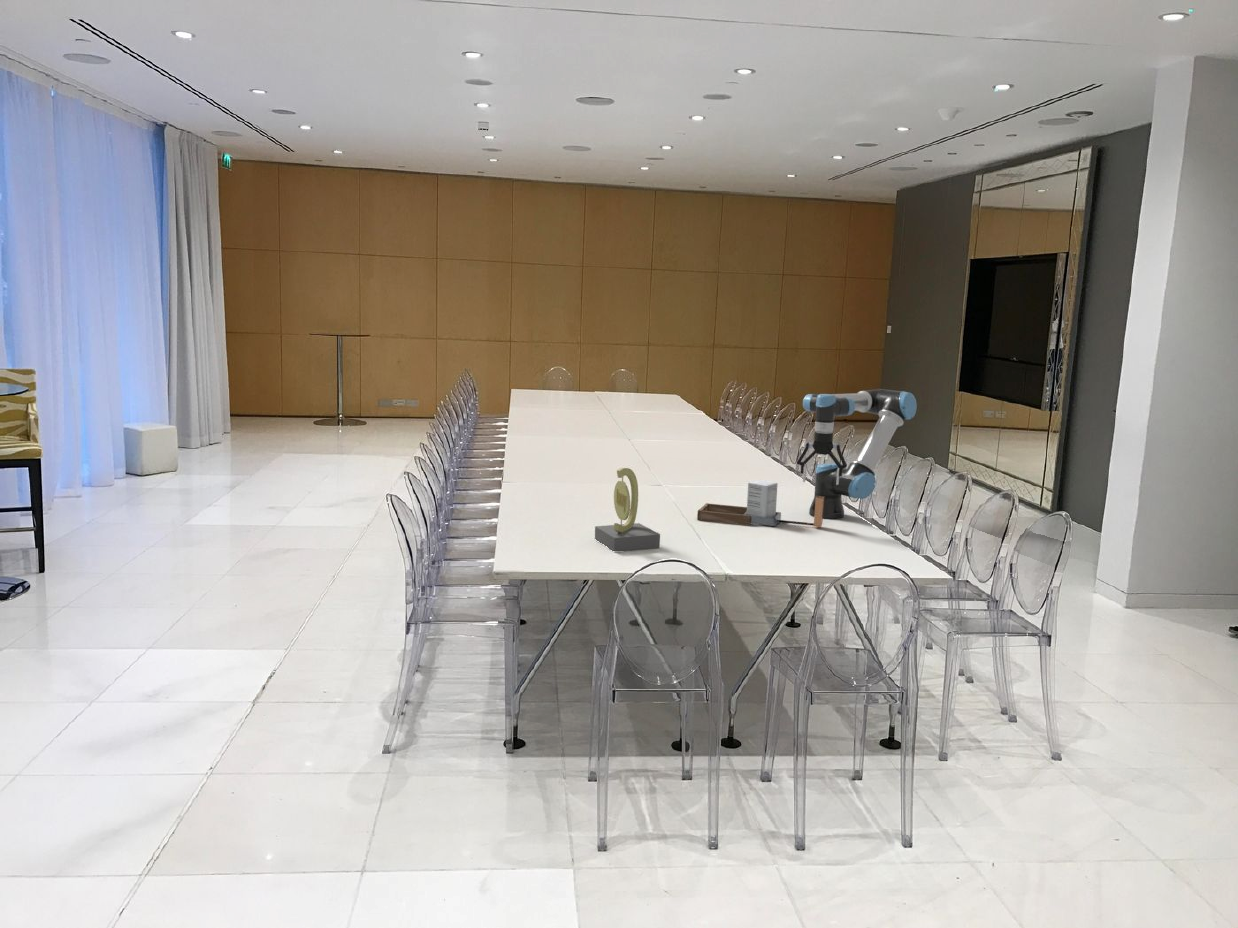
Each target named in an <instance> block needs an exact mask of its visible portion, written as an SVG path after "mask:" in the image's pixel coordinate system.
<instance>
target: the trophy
mask: <svg viewBox="0 0 1238 928" xmlns="http://www.w3.org/2000/svg"><path fill="white" fill-rule="evenodd" d="M616 474H617V475H616V476H617V479H621V480H618V481H617V482H616V484H615V486H614V490H613V505H614V509H615V513H616V516H617V517H618V519H619V520H620V524H619V523H617V522H615V523H613V524H609V525H608V524H607V525H597V526H594V540H595V539H596V540H597V541H599V542H600V543H602V544H604V545H605V546H607V547H608V548H609V549H608V548H607V549H608V550H609V551H611V550H612V551H611V552H613V551H624V552H629V551H630V552H632V551H633V552H634V551H636V552H637V551H645V550H657V549H660V548H661V547H660V546H661V533H659V532H657V531H654V530H653V529H652V528H649V527H647V526H645V525H643V523H640V522H637V523H635V521H636V518H637V514H638V506H639V485H638V480H637V476H636V474H635V472H634V470H632V469H631V468H629V467H628V468H627V467H621V468H618V469H616ZM624 476H625V477H626V478H628V480H629V483H630V491H629V488H628V485H627V484H626V482H625V481H624ZM630 492H631V493H630ZM630 494H631V496H630ZM623 521H626V522H625V523H624V524H623ZM597 541H596V542H597ZM599 542H598V543H599ZM600 543H599V544H600ZM602 544H601V545H602ZM605 546H604V547H605Z"/></svg>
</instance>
